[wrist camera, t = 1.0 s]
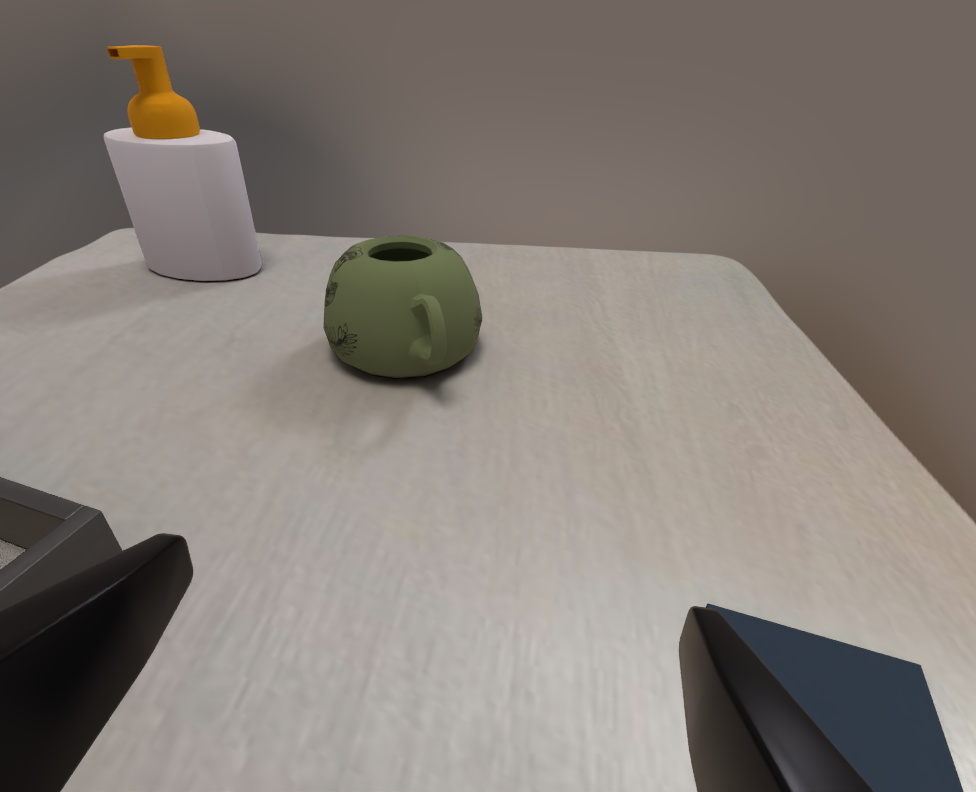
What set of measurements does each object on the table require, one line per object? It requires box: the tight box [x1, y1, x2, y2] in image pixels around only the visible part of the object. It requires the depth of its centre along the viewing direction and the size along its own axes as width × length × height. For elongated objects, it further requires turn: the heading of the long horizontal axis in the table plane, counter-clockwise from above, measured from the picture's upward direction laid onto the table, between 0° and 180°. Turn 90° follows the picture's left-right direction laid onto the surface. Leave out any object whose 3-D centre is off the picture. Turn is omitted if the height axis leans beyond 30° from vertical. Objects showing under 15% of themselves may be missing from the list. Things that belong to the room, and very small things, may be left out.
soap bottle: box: [104, 46, 262, 281], centre depth 53 cm, size 13×8×20 cm, turn 75°
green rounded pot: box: [324, 236, 482, 378], centre depth 42 cm, size 16×13×9 cm
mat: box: [706, 604, 963, 792], centre depth 20 cm, size 13×9×1 cm
